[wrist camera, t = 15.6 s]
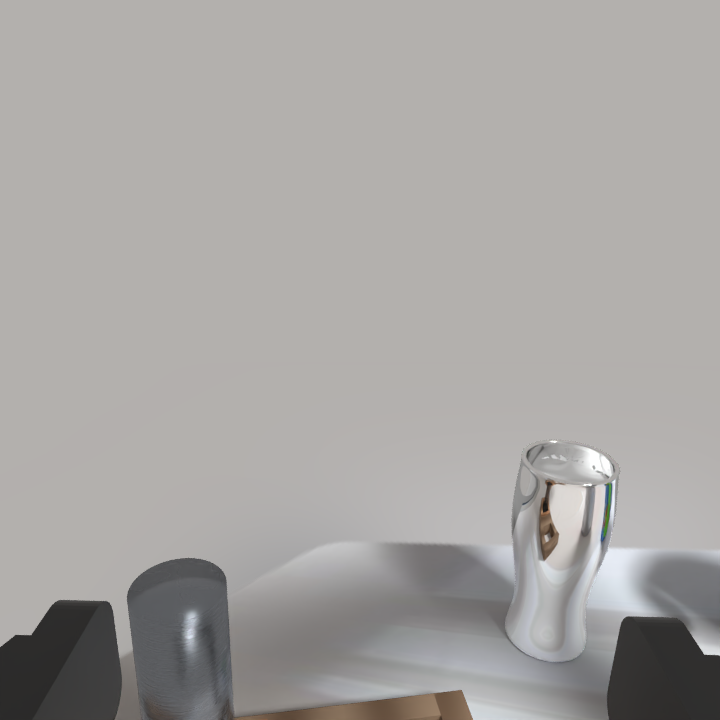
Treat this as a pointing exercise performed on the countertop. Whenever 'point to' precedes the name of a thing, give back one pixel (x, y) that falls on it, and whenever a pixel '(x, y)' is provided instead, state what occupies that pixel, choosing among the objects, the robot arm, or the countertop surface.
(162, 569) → the metal peg
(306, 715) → the wooden peg holder
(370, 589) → the countertop surface
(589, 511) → the beer glass
